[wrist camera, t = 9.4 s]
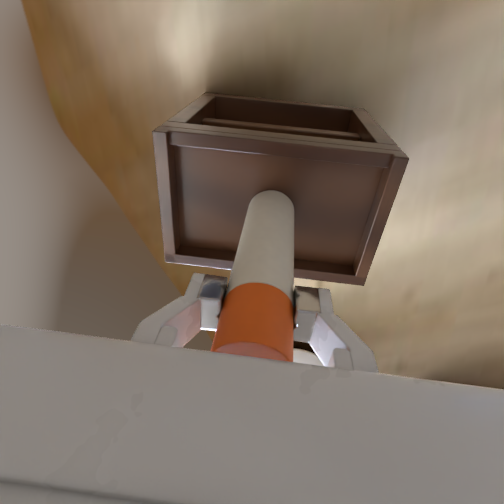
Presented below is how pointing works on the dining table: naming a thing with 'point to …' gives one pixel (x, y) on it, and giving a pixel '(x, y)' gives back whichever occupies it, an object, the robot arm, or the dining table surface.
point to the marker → (261, 284)
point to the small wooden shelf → (276, 181)
